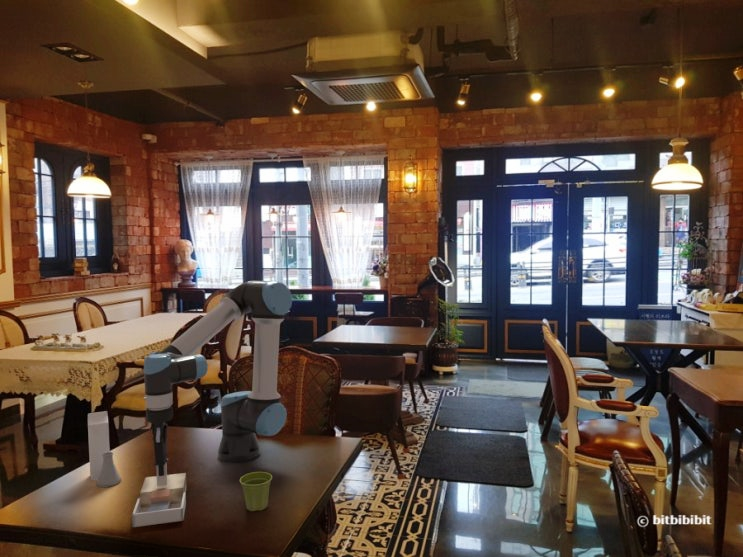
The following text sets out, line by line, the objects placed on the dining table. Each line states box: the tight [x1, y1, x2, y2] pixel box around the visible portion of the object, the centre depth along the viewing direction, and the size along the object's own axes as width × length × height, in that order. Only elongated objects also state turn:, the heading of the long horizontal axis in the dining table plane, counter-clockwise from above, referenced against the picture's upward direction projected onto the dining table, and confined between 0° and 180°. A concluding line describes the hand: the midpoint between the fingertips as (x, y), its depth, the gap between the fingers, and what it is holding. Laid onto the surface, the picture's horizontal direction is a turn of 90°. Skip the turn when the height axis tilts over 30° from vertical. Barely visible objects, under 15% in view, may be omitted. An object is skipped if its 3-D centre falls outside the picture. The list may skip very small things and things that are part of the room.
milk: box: [87, 410, 111, 482], centre depth 188 cm, size 6×6×22 cm
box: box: [131, 491, 187, 528], centre depth 159 cm, size 13×11×4 cm
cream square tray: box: [139, 472, 187, 508], centre depth 170 cm, size 12×12×5 cm
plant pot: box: [239, 471, 273, 512], centre depth 163 cm, size 9×9×9 cm
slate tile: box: [148, 502, 170, 512], centre depth 157 cm, size 5×5×3 cm
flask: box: [95, 451, 122, 488], centre depth 182 cm, size 7×7×10 cm
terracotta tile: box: [151, 489, 171, 508], centre depth 161 cm, size 5×5×3 cm
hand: (162, 484), depth 166 cm, fingers closed
